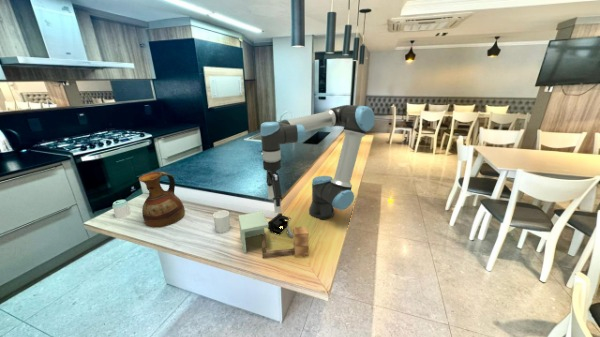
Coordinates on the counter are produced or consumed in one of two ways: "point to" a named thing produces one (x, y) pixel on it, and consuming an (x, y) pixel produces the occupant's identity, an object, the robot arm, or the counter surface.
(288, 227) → the stop strip
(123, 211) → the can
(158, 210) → the ceramic pitcher
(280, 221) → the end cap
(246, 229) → the cubby shelf
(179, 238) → the counter surface
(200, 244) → the counter surface
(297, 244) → the wooden desk organizer
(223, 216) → the white cup
